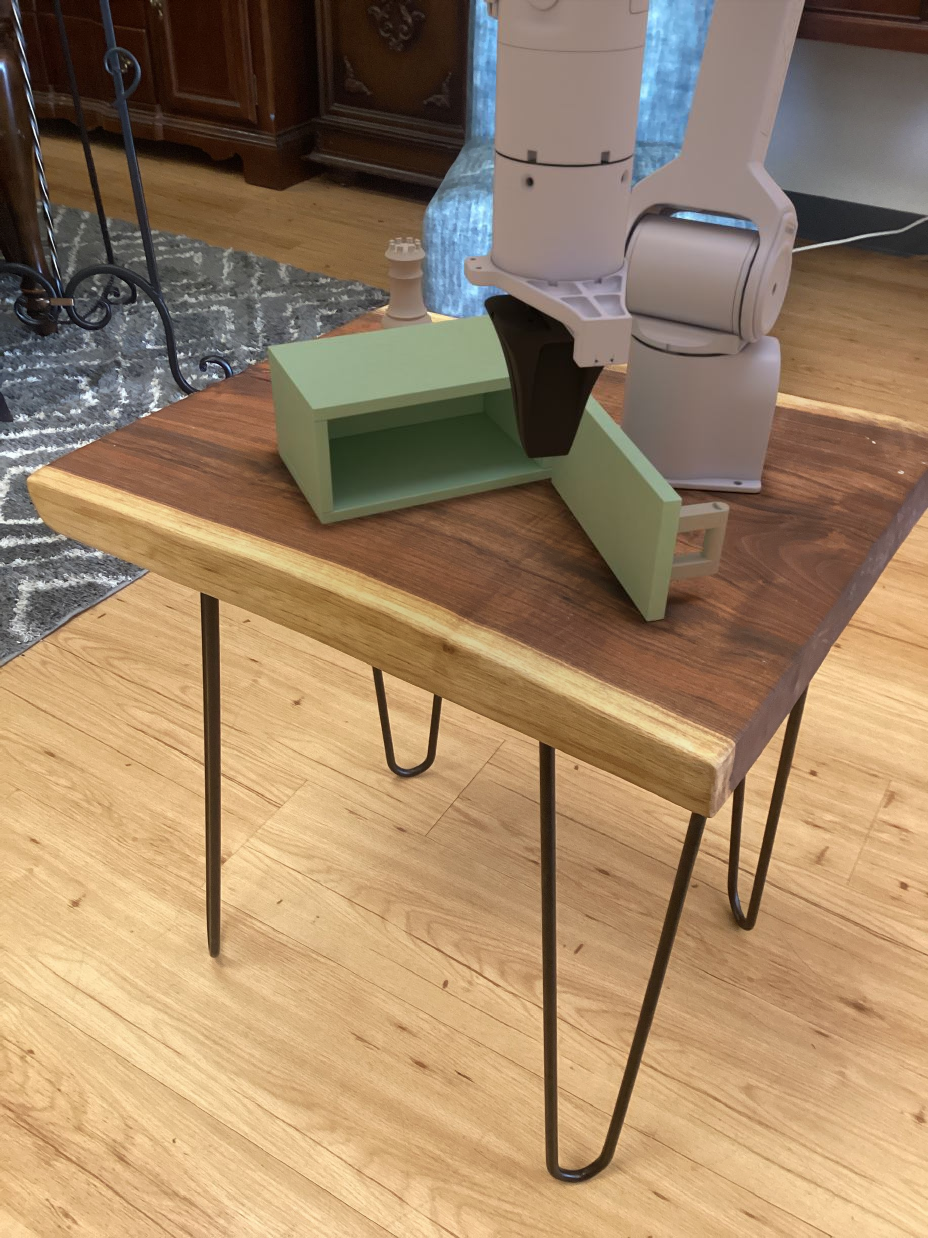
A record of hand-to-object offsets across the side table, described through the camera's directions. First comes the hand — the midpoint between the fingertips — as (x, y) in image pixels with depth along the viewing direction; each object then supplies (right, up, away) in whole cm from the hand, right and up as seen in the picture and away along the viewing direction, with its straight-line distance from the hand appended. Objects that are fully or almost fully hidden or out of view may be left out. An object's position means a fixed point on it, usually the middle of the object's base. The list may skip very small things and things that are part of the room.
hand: (545, 450), depth 51 cm
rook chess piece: (-9, +15, +36) cm, 40 cm away
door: (+6, -4, +11) cm, 13 cm away
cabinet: (-7, +2, +18) cm, 20 cm away
